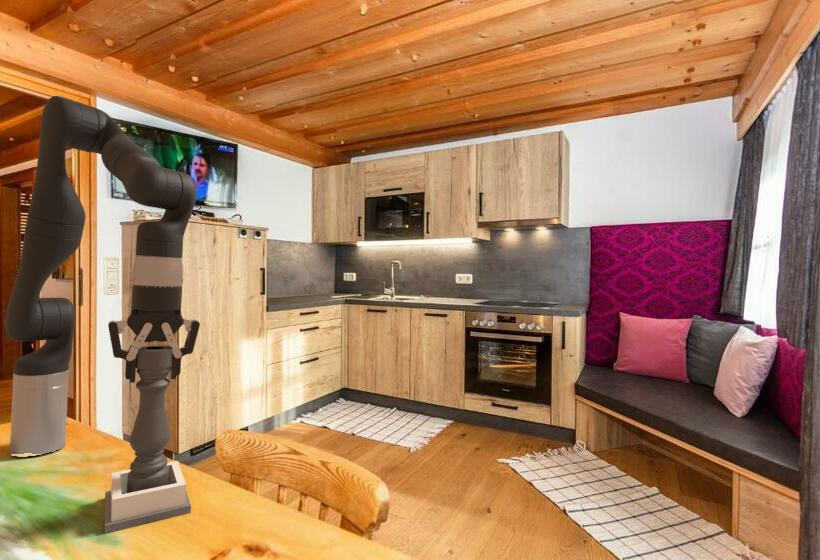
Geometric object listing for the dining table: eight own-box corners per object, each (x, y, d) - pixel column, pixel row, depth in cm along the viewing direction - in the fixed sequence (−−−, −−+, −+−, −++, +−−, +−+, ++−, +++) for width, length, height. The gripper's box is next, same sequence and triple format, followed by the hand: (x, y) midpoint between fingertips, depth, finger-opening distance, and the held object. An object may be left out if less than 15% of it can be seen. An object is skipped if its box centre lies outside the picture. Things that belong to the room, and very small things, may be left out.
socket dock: (105, 498, 76) (106, 472, 76) (180, 482, 83) (181, 458, 83) (104, 533, 67) (106, 503, 67) (190, 512, 74) (192, 485, 73)
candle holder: (118, 492, 74) (126, 347, 73) (154, 478, 79) (161, 343, 79) (140, 503, 71) (148, 352, 71) (175, 488, 76) (183, 348, 76)
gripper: (199, 283, 82) (194, 371, 82) (107, 280, 73) (102, 378, 74) (207, 285, 76) (202, 381, 76) (107, 282, 67) (102, 389, 68)
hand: (152, 379), depth 75 cm, fingers closed on candle holder, 5 cm apart
